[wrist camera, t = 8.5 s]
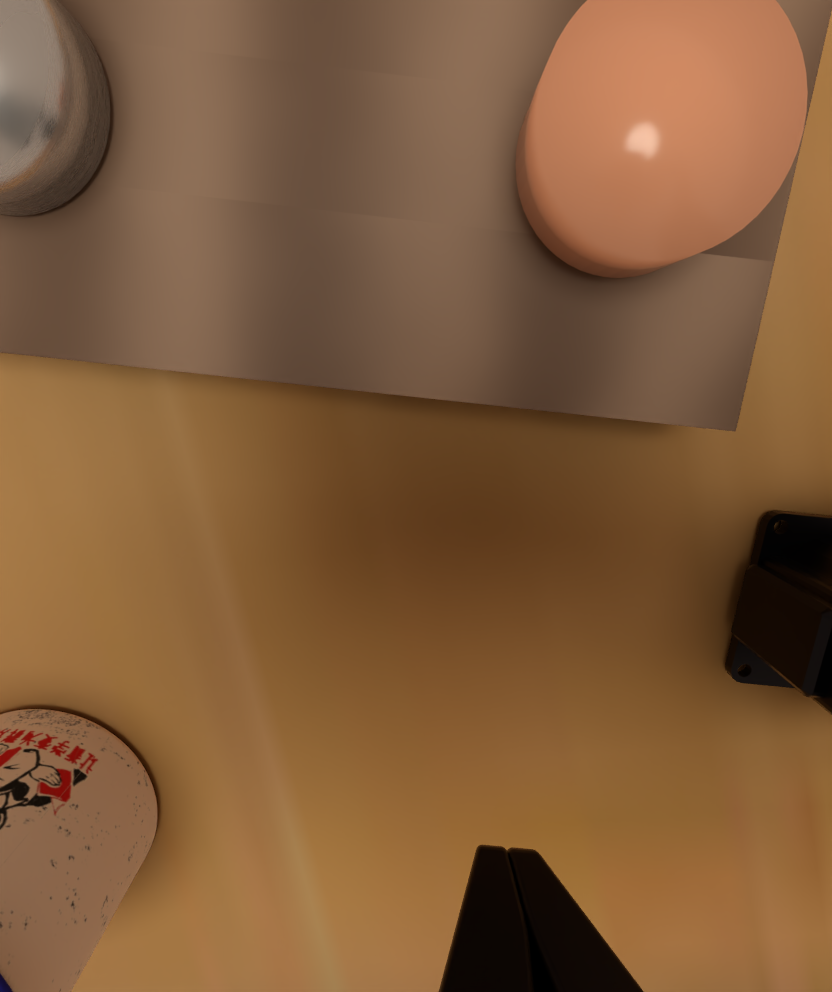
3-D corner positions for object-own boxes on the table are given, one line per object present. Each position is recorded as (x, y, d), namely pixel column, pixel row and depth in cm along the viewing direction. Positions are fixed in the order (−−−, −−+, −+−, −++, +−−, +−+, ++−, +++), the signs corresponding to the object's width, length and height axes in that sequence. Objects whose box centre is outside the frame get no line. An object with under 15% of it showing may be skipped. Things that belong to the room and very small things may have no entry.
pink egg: (681, 122, 17) (838, -25, 10) (647, 306, 18) (770, 272, 12) (506, 101, 17) (559, -61, 10) (482, 288, 18) (518, 243, 11)
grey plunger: (179, 73, 17) (43, -96, 11) (177, 257, 18) (51, 198, 12) (4, 53, 17) (-235, -131, 11) (12, 239, 18) (-200, 170, 12)
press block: (753, 15, 17) (854, -90, 13) (671, 419, 20) (735, 431, 16) (-62, -85, 16) (-212, -226, 13) (-35, 342, 19) (-152, 335, 15)
